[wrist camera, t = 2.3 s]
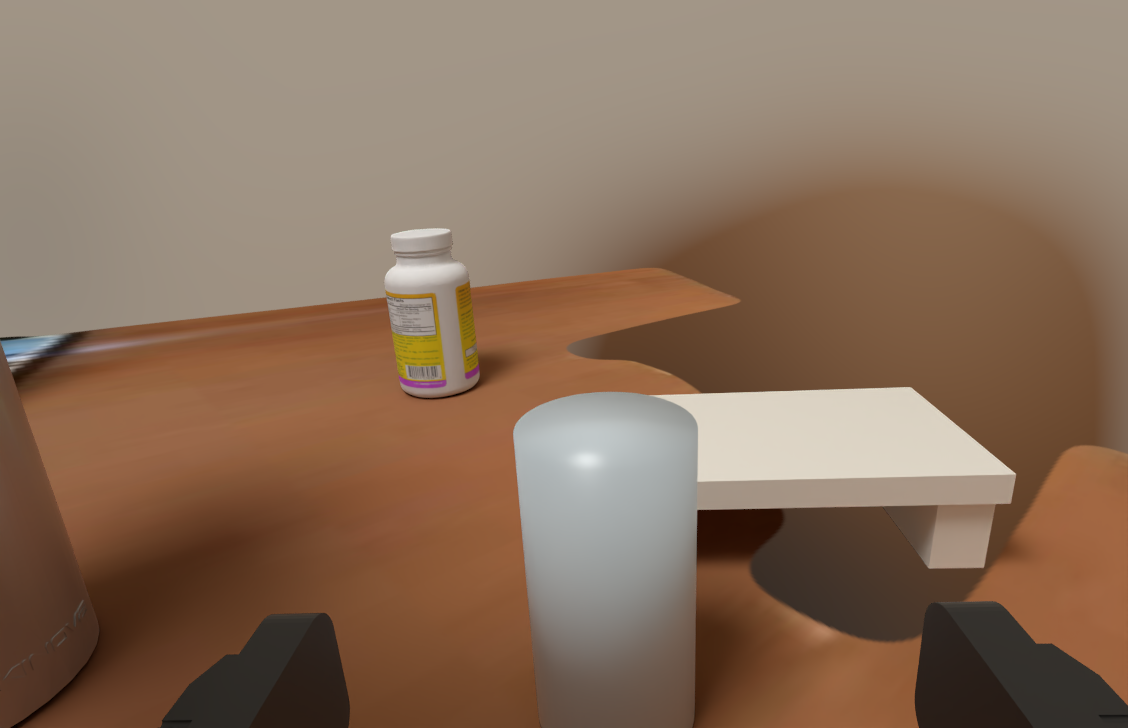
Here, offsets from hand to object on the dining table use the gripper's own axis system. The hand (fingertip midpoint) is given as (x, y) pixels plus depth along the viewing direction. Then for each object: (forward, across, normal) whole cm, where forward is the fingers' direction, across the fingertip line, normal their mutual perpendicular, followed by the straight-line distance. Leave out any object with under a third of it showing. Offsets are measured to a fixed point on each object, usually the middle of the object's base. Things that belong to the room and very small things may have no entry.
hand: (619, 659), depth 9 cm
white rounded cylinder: (+12, 0, +12) cm, 17 cm away
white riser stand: (+24, -8, +12) cm, 28 cm away
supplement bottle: (+44, +14, +12) cm, 48 cm away
